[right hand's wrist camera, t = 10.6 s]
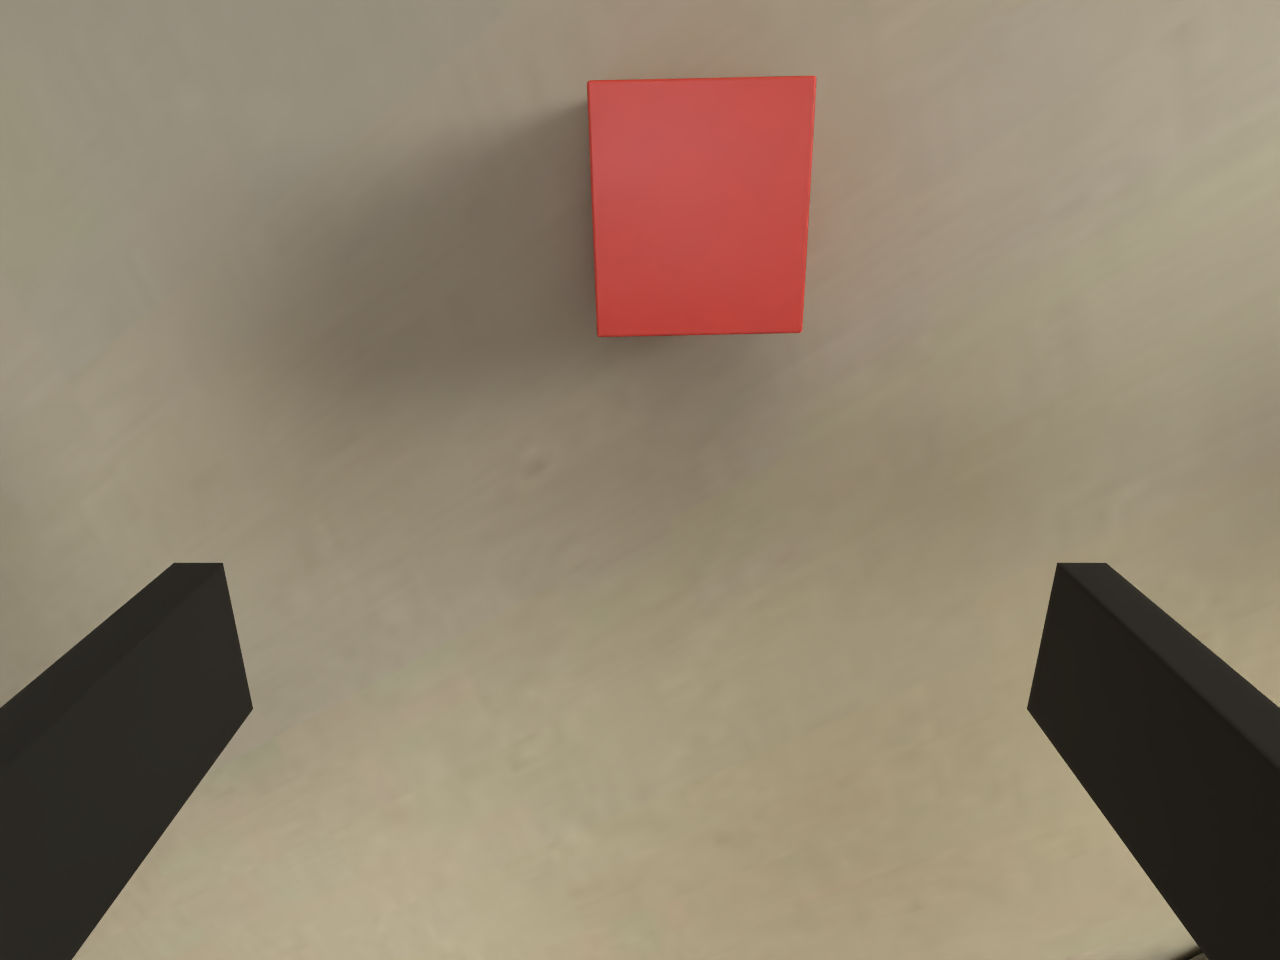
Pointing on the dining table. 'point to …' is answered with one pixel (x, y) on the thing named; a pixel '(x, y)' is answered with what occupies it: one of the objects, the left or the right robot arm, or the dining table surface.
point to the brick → (700, 204)
